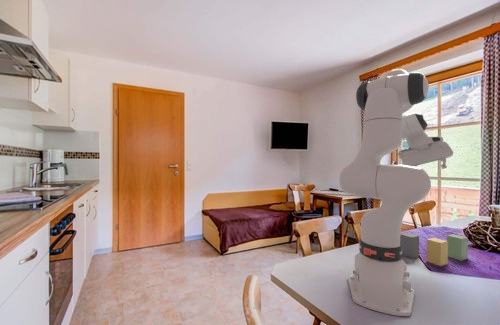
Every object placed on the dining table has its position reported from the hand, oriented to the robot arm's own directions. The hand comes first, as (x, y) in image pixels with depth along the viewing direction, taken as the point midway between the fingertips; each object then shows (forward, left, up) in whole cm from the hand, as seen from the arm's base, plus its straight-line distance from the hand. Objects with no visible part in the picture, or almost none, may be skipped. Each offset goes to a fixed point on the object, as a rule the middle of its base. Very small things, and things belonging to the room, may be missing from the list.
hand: (432, 171), depth 111 cm
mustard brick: (-17, +1, -37) cm, 40 cm away
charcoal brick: (-14, +10, -37) cm, 40 cm away
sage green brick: (-6, -8, -37) cm, 38 cm away
